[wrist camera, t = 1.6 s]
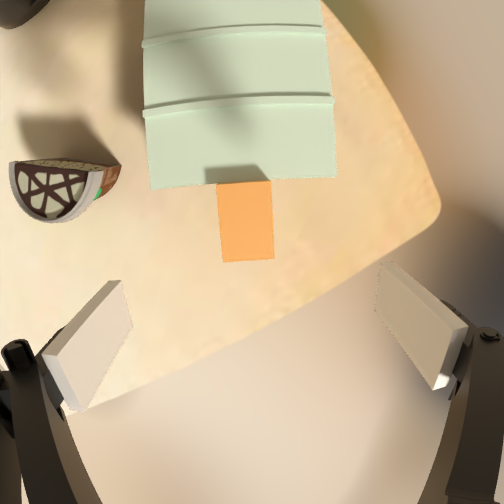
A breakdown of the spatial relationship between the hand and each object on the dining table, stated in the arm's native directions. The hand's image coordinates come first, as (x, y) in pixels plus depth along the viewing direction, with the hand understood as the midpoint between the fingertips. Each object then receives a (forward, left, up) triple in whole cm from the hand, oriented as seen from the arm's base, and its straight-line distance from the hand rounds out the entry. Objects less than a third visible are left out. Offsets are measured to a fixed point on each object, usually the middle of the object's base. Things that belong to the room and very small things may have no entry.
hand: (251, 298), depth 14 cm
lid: (-11, 0, -12) cm, 16 cm away
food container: (-6, -20, -22) cm, 30 cm away
